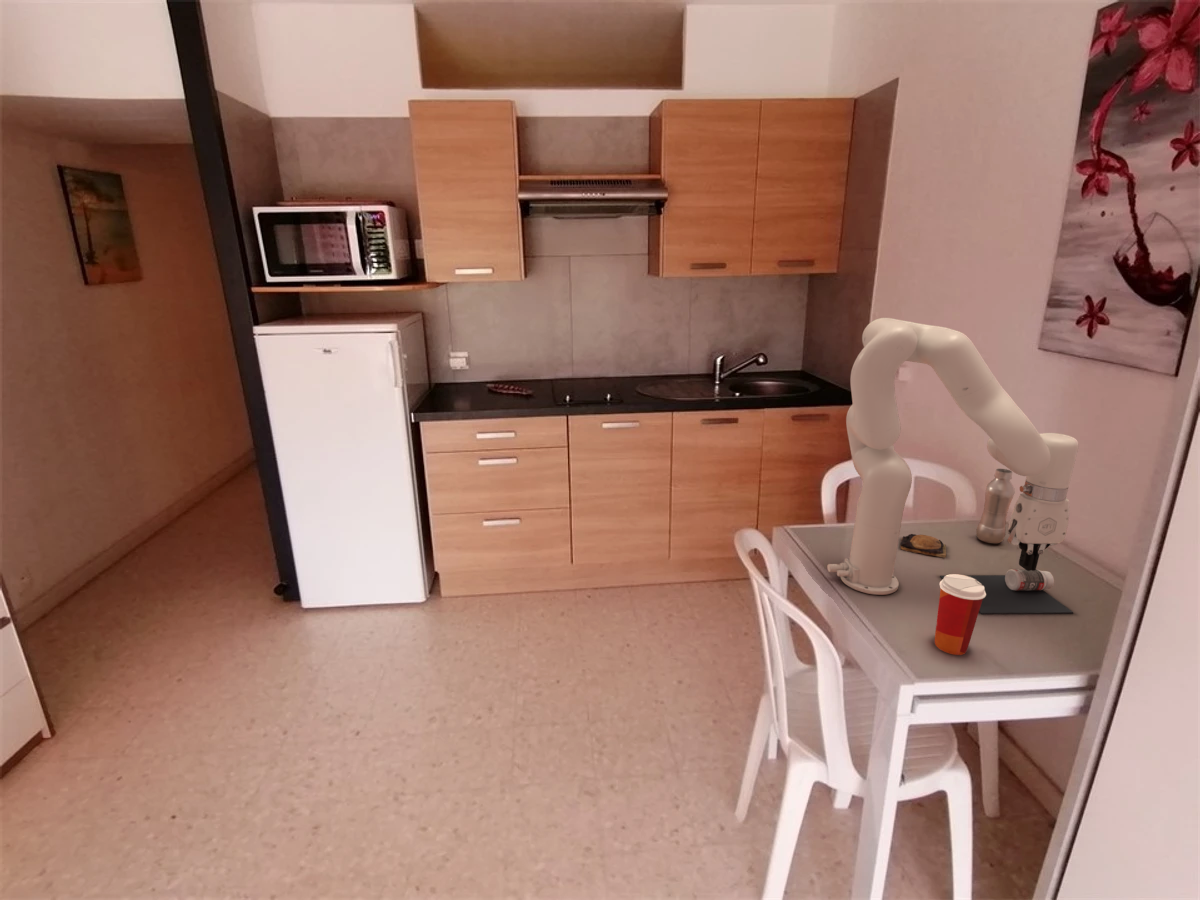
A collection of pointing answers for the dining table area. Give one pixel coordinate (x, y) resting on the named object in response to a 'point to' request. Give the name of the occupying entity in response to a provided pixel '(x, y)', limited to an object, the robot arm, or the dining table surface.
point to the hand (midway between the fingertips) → (1026, 567)
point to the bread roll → (923, 545)
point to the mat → (1015, 599)
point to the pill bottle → (1028, 580)
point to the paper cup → (957, 612)
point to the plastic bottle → (996, 507)
